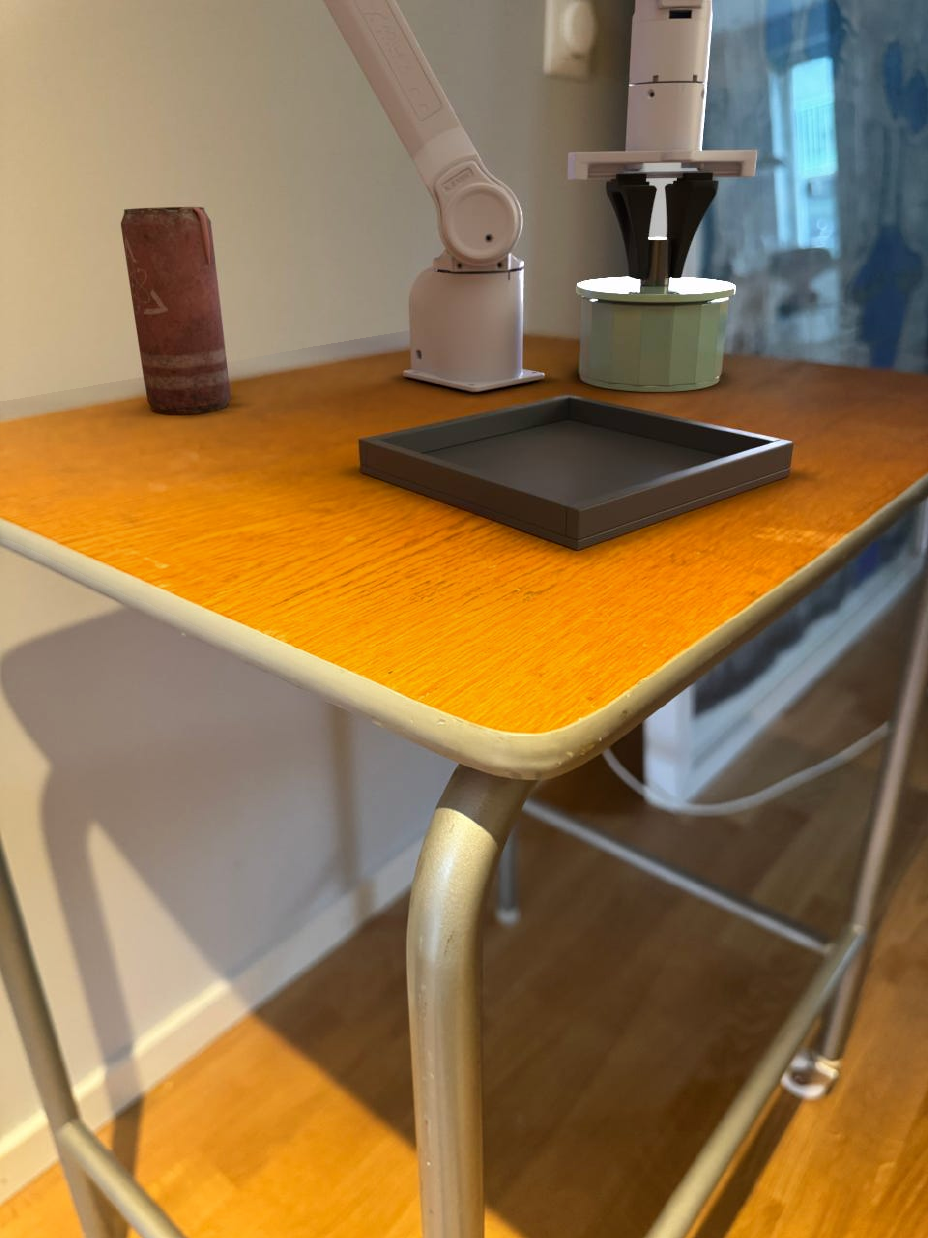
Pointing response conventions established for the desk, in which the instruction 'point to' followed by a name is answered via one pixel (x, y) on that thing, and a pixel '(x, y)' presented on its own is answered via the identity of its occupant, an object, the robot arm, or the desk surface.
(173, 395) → the can
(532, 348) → the desk surface
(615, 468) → the tray
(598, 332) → the pot
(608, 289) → the lid
